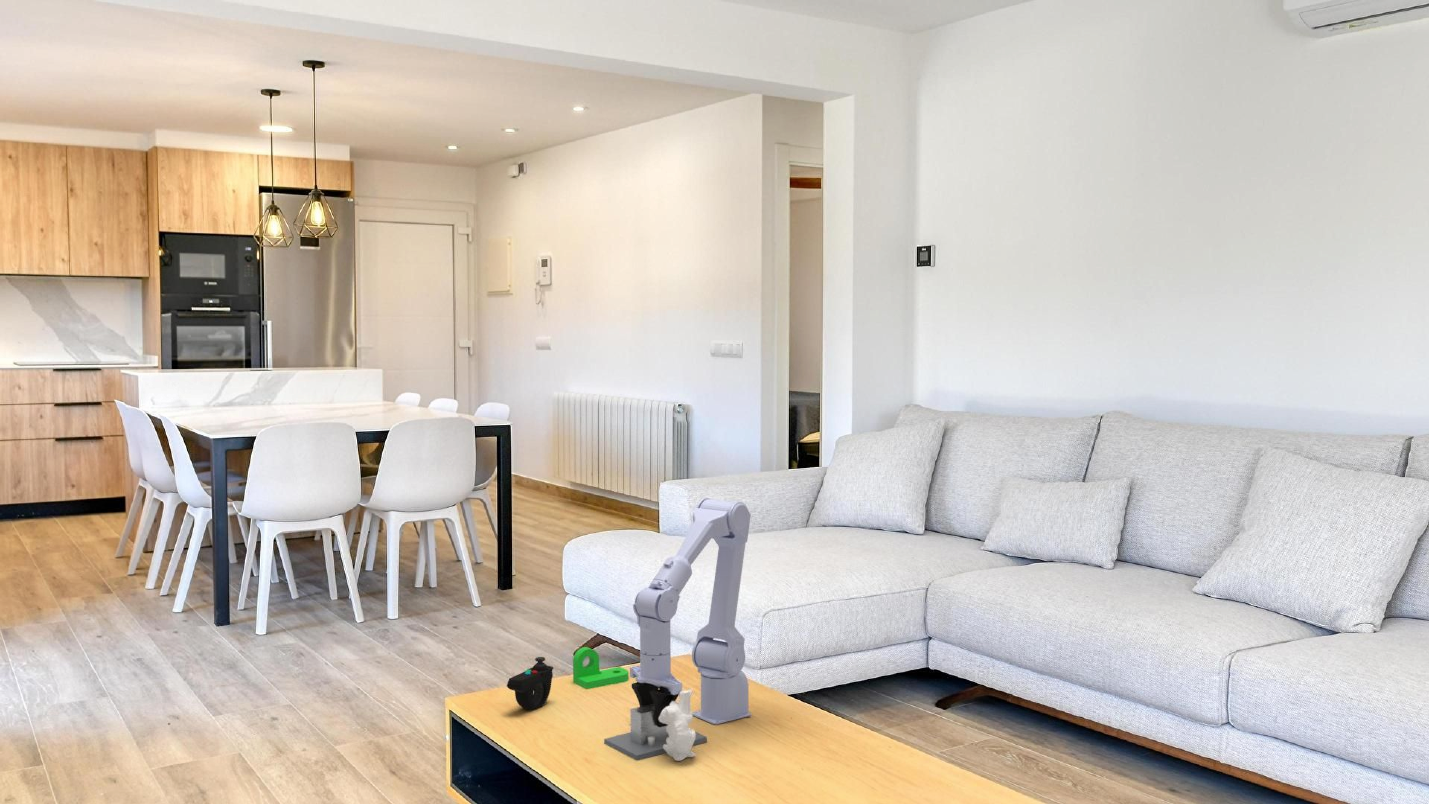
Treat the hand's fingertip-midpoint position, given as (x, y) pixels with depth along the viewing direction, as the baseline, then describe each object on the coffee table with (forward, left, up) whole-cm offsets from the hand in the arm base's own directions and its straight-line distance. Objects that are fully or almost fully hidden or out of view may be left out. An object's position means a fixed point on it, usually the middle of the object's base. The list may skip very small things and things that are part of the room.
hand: (655, 722), depth 220 cm
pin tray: (0, 0, -4) cm, 4 cm away
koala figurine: (+1, +9, -4) cm, 10 cm away
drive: (0, 0, -3) cm, 3 cm away
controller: (+9, -32, -4) cm, 33 cm away
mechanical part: (-13, -39, -4) cm, 42 cm away
